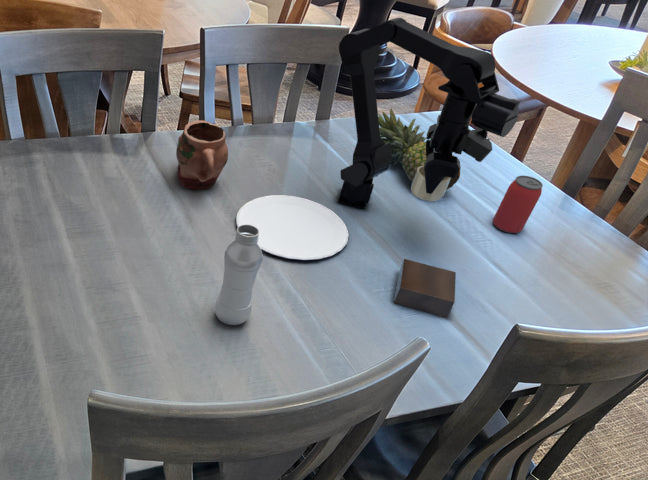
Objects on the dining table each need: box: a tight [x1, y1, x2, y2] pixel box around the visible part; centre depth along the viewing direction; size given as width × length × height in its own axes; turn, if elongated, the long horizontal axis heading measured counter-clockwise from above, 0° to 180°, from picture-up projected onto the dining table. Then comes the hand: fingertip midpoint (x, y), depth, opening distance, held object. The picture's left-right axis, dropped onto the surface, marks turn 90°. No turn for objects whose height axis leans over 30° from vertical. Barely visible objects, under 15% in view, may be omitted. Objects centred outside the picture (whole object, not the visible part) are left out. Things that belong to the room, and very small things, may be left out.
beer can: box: [492, 175, 544, 234], centre depth 143 cm, size 7×7×12 cm
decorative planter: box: [175, 119, 229, 190], centre depth 150 cm, size 20×12×14 cm, turn 13°
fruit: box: [378, 107, 462, 191], centre depth 162 cm, size 14×12×30 cm
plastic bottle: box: [214, 225, 264, 326], centre depth 111 cm, size 6×7×20 cm
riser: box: [393, 258, 457, 318], centre depth 125 cm, size 10×10×4 cm
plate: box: [235, 194, 349, 261], centre depth 141 cm, size 25×25×1 cm
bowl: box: [410, 166, 451, 202], centre depth 135 cm, size 7×7×5 cm
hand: (429, 185), depth 135 cm, fingers closed on bowl, 7 cm apart
